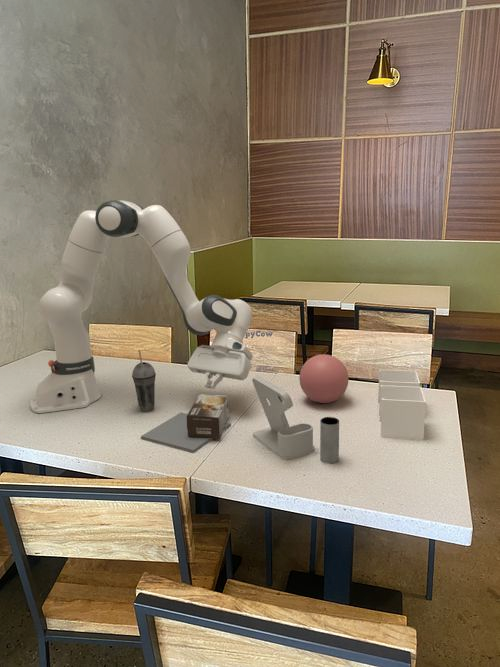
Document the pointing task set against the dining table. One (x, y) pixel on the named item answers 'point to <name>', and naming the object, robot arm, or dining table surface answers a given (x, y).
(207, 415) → the coffee box
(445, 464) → the dining table surface
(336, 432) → the gray cylinder
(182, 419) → the mat
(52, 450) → the dining table surface
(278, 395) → the phone holder
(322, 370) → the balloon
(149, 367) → the beverage cup
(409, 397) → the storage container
